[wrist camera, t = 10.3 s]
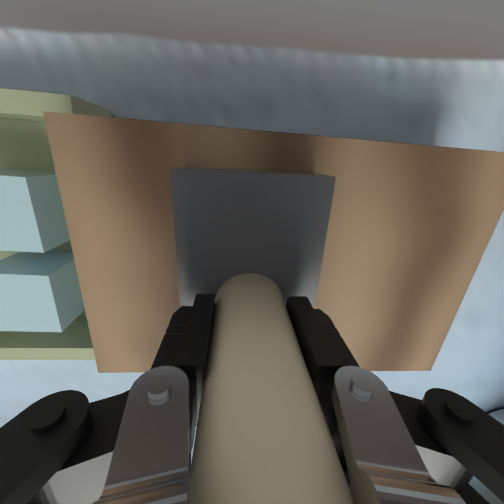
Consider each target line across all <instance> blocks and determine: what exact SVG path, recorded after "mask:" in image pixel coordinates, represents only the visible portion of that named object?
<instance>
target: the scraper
mask: <svg viewBox="0 0 504 504" xmlns="http://www.w3.org/2000/svg"><path fill="white" fill-rule="evenodd" d="M170 173H171V187H172V201H173V214H174V228H175V242H176V256H177V269H178V283H179V297H180V307H181V306H193V303H194V300H195V296H196V294H197V293H201V294H215V309H214V317H213V324H212V331H211V338H210V345H209V353H208V360H207V367H206V374H205V382H204V387H203V390H202V395H201V402H200V409H199V415H198V422H197V429H196V436H195V443H194V450H193V457H192V464H191V471H190V478H189V504H354V503H353V499H352V496H351V492H350V489H349V486H348V484H347V481H346V478H345V475H344V472H343V469H342V466H341V463H340V461H339V458H338V455H337V452H336V449H335V446H334V443H333V440H332V438H331V435H330V432H329V429H328V426H327V423H326V420H325V417H324V414H323V412H322V409H321V406H320V403H319V400H318V397H317V394H316V391H315V389H314V386H313V383H312V380H311V377H310V374H309V371H308V368H307V366H306V363H305V360H304V357H303V354H302V351H301V348H300V345H299V343H298V340H297V337H296V334H295V331H294V328H293V325H292V322H291V319H290V317H289V314H288V311H287V308H286V302H287V298H288V296H307V297H308V299H309V301H310V303H311V305H312V307H313V308H314V307H315V301H316V295H317V289H318V283H319V277H320V271H321V265H322V259H323V253H324V247H325V241H326V235H327V229H328V223H329V217H330V211H331V205H332V199H333V193H334V187H335V181H336V177H335V176H329V175H323V174H317V173H301V172H280V171H259V170H237V169H216V168H195V167H181V168H173V169H170Z"/></svg>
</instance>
